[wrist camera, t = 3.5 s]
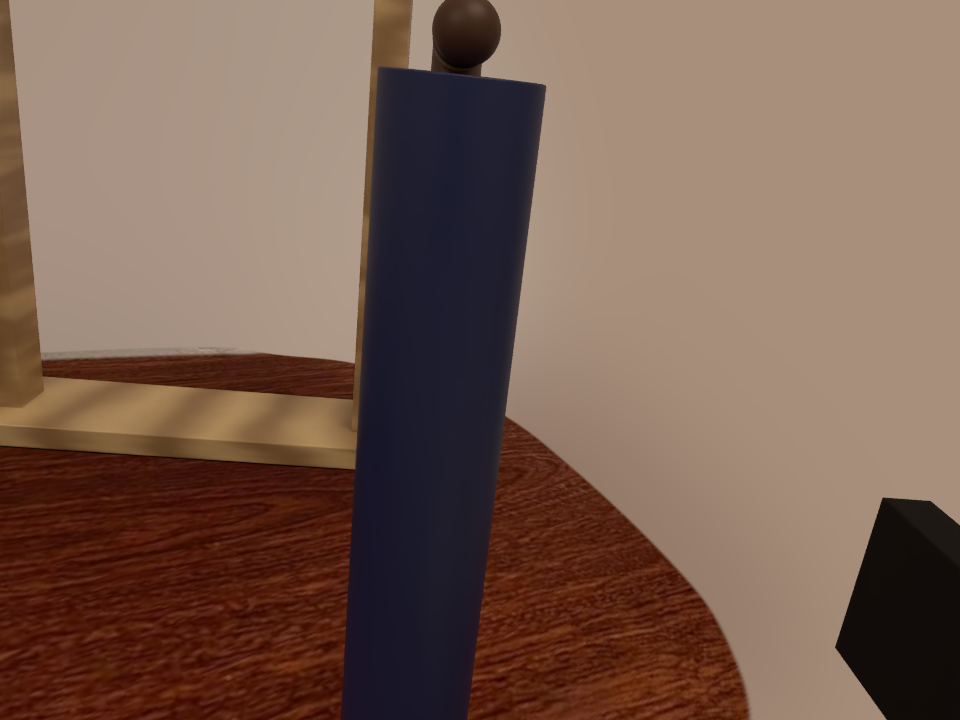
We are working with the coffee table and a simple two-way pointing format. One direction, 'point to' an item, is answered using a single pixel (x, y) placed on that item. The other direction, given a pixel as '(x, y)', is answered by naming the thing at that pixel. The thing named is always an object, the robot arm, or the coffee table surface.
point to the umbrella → (435, 365)
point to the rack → (153, 408)
